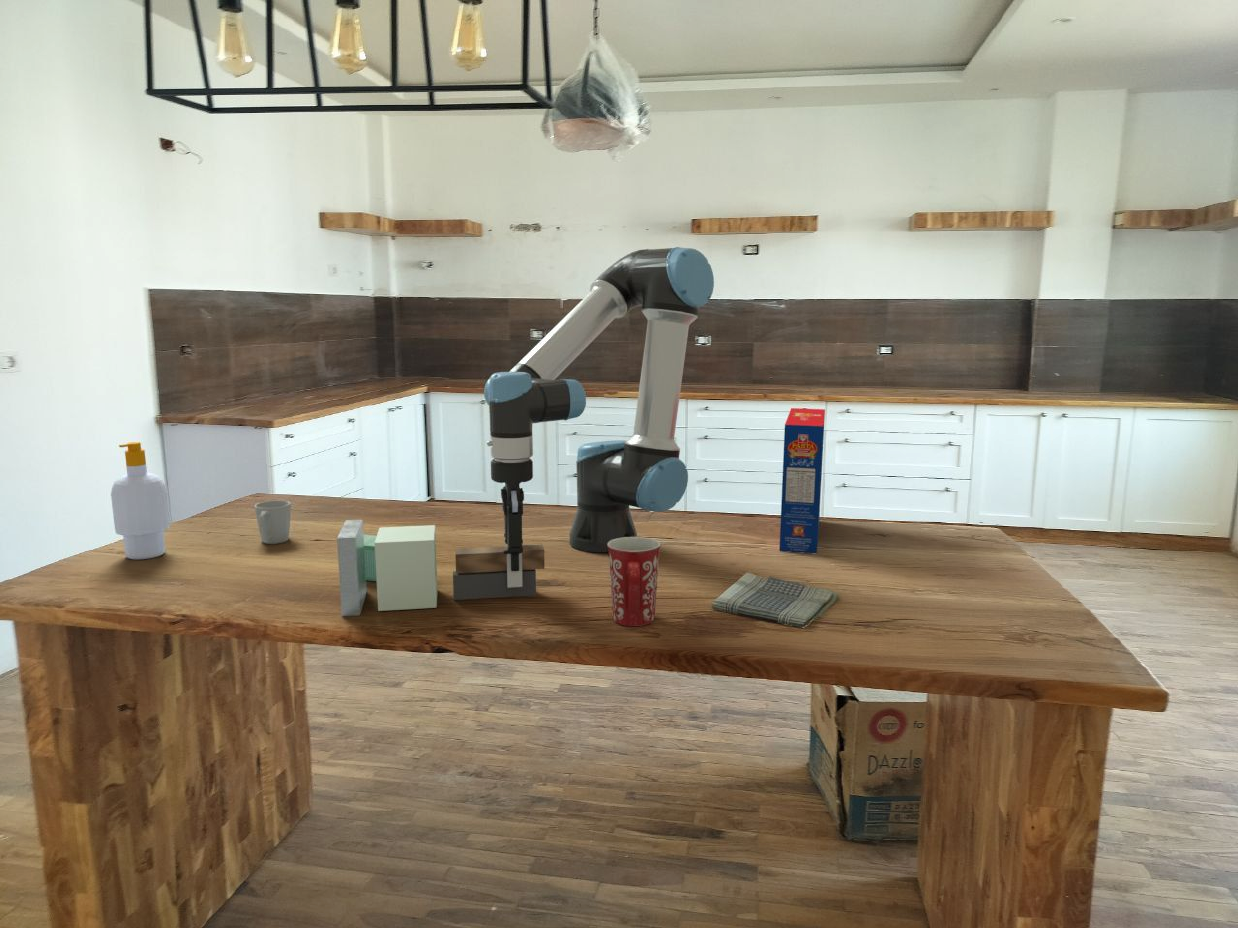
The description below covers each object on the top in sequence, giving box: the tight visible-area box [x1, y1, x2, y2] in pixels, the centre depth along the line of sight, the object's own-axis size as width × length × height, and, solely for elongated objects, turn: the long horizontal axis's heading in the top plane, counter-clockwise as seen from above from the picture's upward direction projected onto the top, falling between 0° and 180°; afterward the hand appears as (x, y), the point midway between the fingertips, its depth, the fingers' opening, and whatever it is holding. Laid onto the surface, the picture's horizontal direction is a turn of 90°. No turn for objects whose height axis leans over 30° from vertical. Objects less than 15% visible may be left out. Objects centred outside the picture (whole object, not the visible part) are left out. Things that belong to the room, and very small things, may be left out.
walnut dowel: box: [454, 543, 546, 574], centre depth 157 cm, size 16×4×4 cm, turn 101°
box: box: [363, 533, 377, 582], centre depth 168 cm, size 7×14×8 cm, turn 75°
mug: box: [607, 536, 662, 627], centre depth 144 cm, size 13×9×14 cm
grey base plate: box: [336, 519, 368, 617], centre depth 152 cm, size 3×12×14 cm, turn 11°
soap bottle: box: [110, 441, 171, 560], centre depth 179 cm, size 10×10×24 cm
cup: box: [254, 499, 292, 545], centre depth 190 cm, size 8×10×8 cm
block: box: [375, 524, 439, 612], centre depth 154 cm, size 10×10×12 cm
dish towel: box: [711, 572, 840, 628], centre depth 155 cm, size 19×18×3 cm
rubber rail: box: [452, 569, 537, 601], centre depth 158 cm, size 15×2×5 cm, turn 101°
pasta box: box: [779, 407, 826, 554], centre depth 196 cm, size 28×8×28 cm, turn 166°
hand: (514, 582), depth 158 cm, fingers closed on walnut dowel, 4 cm apart
